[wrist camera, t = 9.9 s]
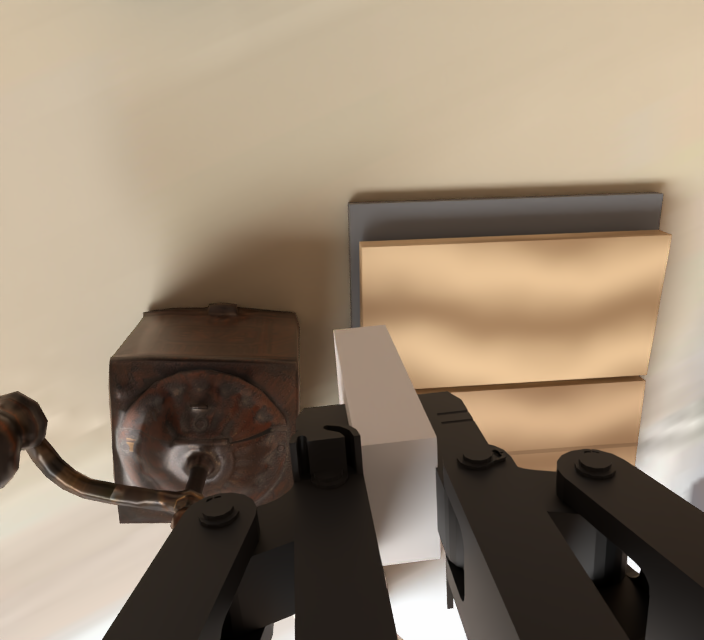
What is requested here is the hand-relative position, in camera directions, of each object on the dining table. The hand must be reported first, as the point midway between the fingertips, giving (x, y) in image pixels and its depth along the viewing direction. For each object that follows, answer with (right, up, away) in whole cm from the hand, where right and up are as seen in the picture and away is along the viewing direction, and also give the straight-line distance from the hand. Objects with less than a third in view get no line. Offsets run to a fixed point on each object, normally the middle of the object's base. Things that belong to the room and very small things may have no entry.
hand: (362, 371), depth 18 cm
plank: (+10, +2, +24) cm, 26 cm away
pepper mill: (-12, -2, +25) cm, 27 cm away
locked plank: (+10, -8, +27) cm, 30 cm away
